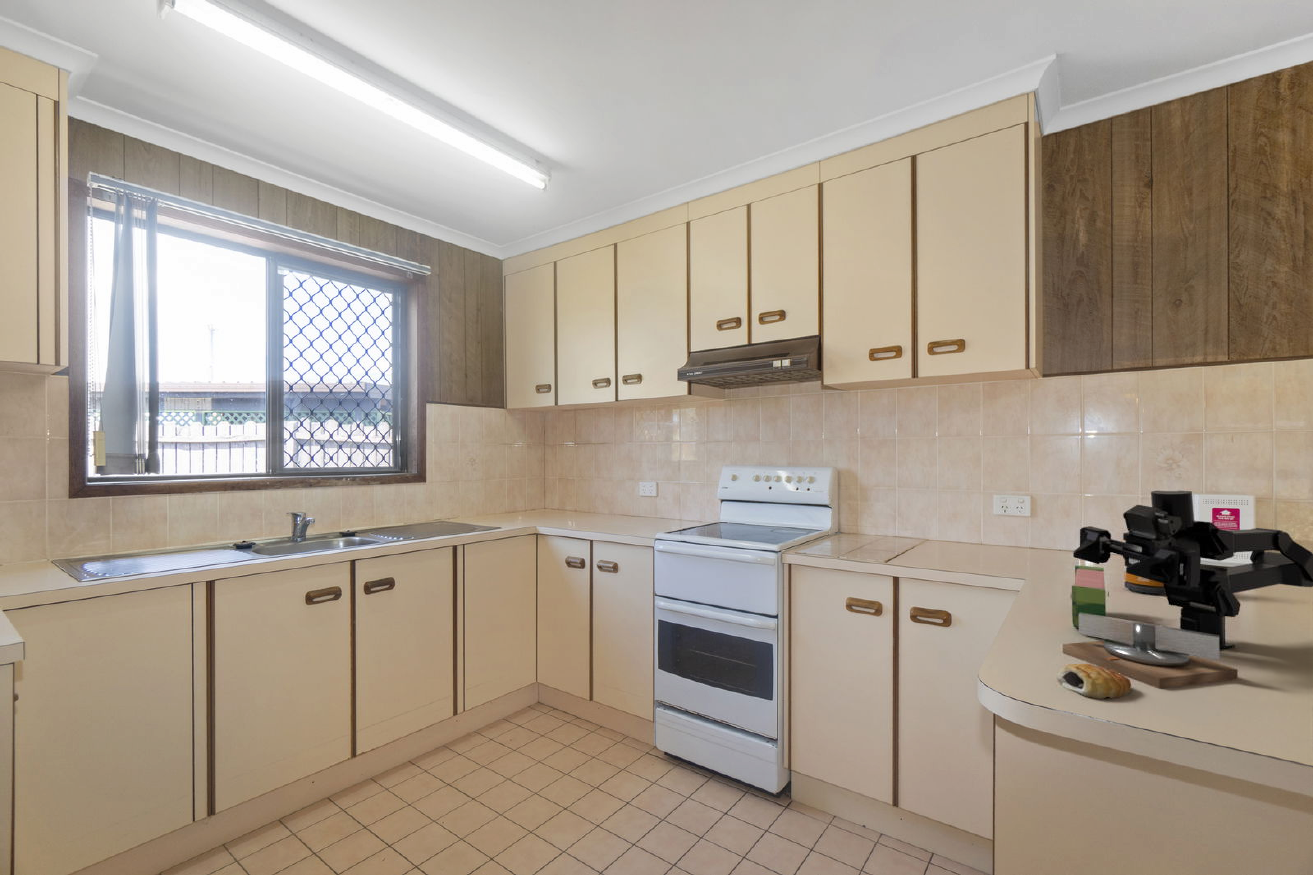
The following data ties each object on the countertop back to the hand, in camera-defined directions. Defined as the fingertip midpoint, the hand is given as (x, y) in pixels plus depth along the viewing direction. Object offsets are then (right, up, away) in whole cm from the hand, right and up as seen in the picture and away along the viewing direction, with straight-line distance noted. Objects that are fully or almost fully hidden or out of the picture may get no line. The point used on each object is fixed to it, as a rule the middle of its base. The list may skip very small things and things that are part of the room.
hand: (1099, 562), depth 103 cm
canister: (+48, -18, +47) cm, 69 cm away
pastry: (-12, -16, -14) cm, 25 cm away
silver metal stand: (+4, -14, -4) cm, 16 cm away
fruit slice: (+12, -17, +18) cm, 27 cm away
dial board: (+4, -16, -4) cm, 17 cm away
